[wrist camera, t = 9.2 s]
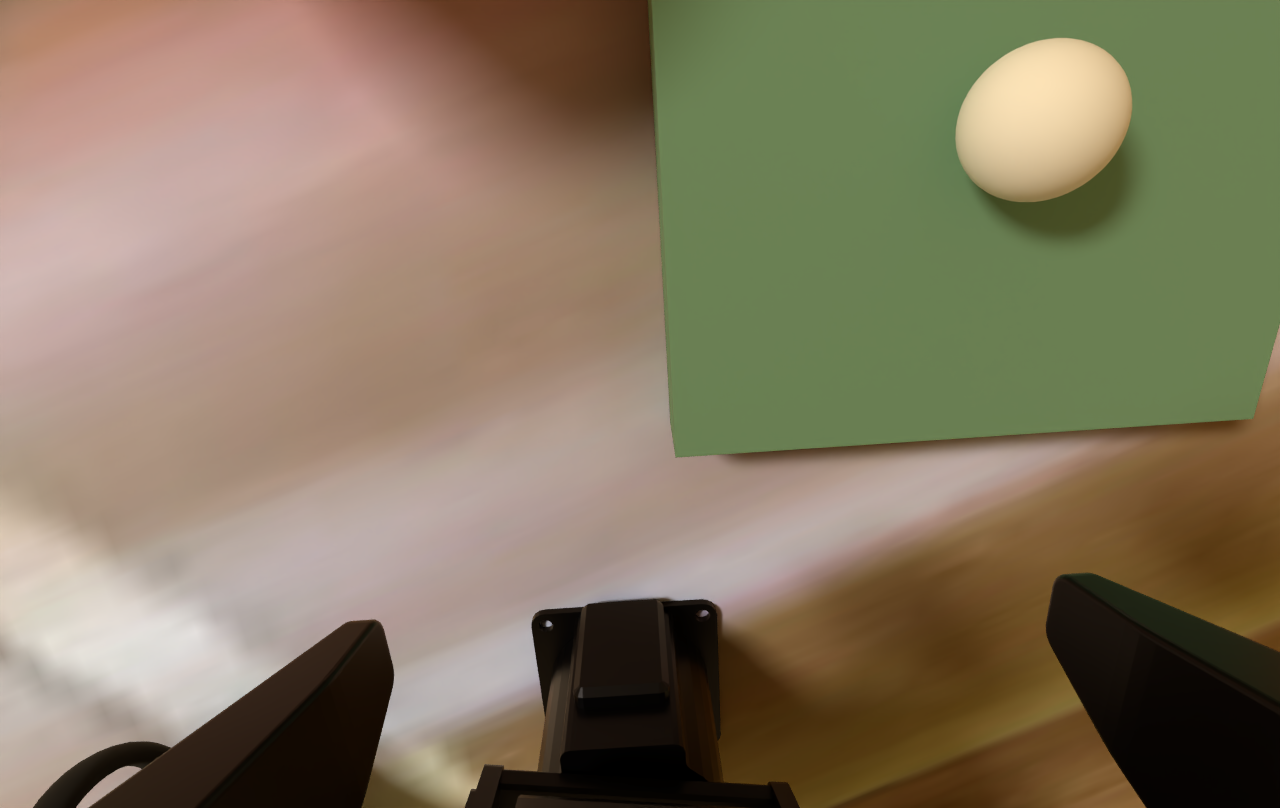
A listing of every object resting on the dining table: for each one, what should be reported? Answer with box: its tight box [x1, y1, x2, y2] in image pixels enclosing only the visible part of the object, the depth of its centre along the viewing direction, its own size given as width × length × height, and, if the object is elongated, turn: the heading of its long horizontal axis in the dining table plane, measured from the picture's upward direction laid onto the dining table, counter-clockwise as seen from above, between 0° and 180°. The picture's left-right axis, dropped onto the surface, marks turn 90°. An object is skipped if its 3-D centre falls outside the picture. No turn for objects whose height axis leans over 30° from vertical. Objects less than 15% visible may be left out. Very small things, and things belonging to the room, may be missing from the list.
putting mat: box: [648, 0, 1280, 457], centre depth 16 cm, size 20×16×2 cm
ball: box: [955, 38, 1132, 202], centre depth 14 cm, size 3×3×3 cm
